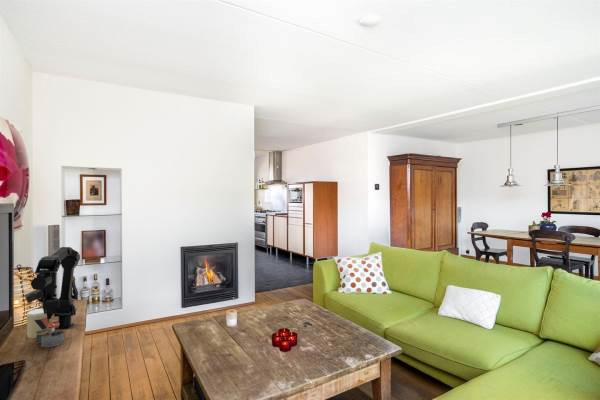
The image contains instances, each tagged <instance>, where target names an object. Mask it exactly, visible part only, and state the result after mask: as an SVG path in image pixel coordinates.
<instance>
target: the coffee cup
mask: <svg viewBox="0 0 600 400" xmlns="http://www.w3.org/2000/svg"><path fill="white" fill-rule="evenodd" d="M48 323H50V319H49V320H48V319H47V315H46V314H44V311H43V308H37V309H36V308H35V309H31V310H29V311H27V313H26V327H27V328H26V329H27V339H36V336H37V335H43V334H45V333H47V332H49V328H48Z"/></svg>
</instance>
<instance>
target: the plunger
mask: <svg viewBox="0 0 600 400" xmlns="http://www.w3.org/2000/svg"><path fill="white" fill-rule="evenodd" d="M57 326H59V322H58V321H51V322H49V323H48V329H51V331H52V335H54V331H56V329H55V327H57Z"/></svg>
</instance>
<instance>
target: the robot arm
mask: <svg viewBox="0 0 600 400" xmlns="http://www.w3.org/2000/svg"><path fill="white" fill-rule="evenodd" d="M80 260H81V254H80V252H78V251H76V250H75V249H73V248H72V247H71V246H62V247H59V249H58V250H56V251H55V252H54V253H52V254H51V255H45V256H43V257H41V258H40V259H39V261H38V263H37V266H36V269H35V270H34V271H35V272H34V274H35V275H36V277H34V278H33V279H32V280H31V282H30V286H31V287H32V289H34V290H33V291H30V292H28V293H26V294H24V298H25V300H26V302H27V304H31V303H32V302H34V301H36V300H37V301H38V302H40V304H41V307H42V308H41V309H43V311H44V314H46V315H47V319H48V320H49V321H50V320H51V319H52V317H54V318H55V317H57V318H58V319H57V320H58V321H57V322H59V326H57V327H55V330H59V329H61V330H63V329H69V328H71V327H72V326H74V325H75V323H72V317H73V316H75V315H76V314H77V308H76V305H75V303H74V299H73V298H72V289H73V280H74V272H75V268H76V267H77V266H78V265H79V262H80ZM60 266H61V268H62V269H63V270H62V279H61V289H60V293H59V294H60V296H59V298H57V292H56V291H57V289H58V286H57V274H58V272H59V269H60Z"/></svg>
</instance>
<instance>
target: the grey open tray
mask: <svg viewBox="0 0 600 400" xmlns="http://www.w3.org/2000/svg"><path fill="white" fill-rule="evenodd" d="M64 339H65V332H64V331H62V330H54V335H52V330H51V331H48V332H47V333H45V334H43V335H37V336H36V338H35V343H40V346H41V348H55V347H58V346H60V345H61V344H63V343H64V342H65V341H64Z"/></svg>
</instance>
